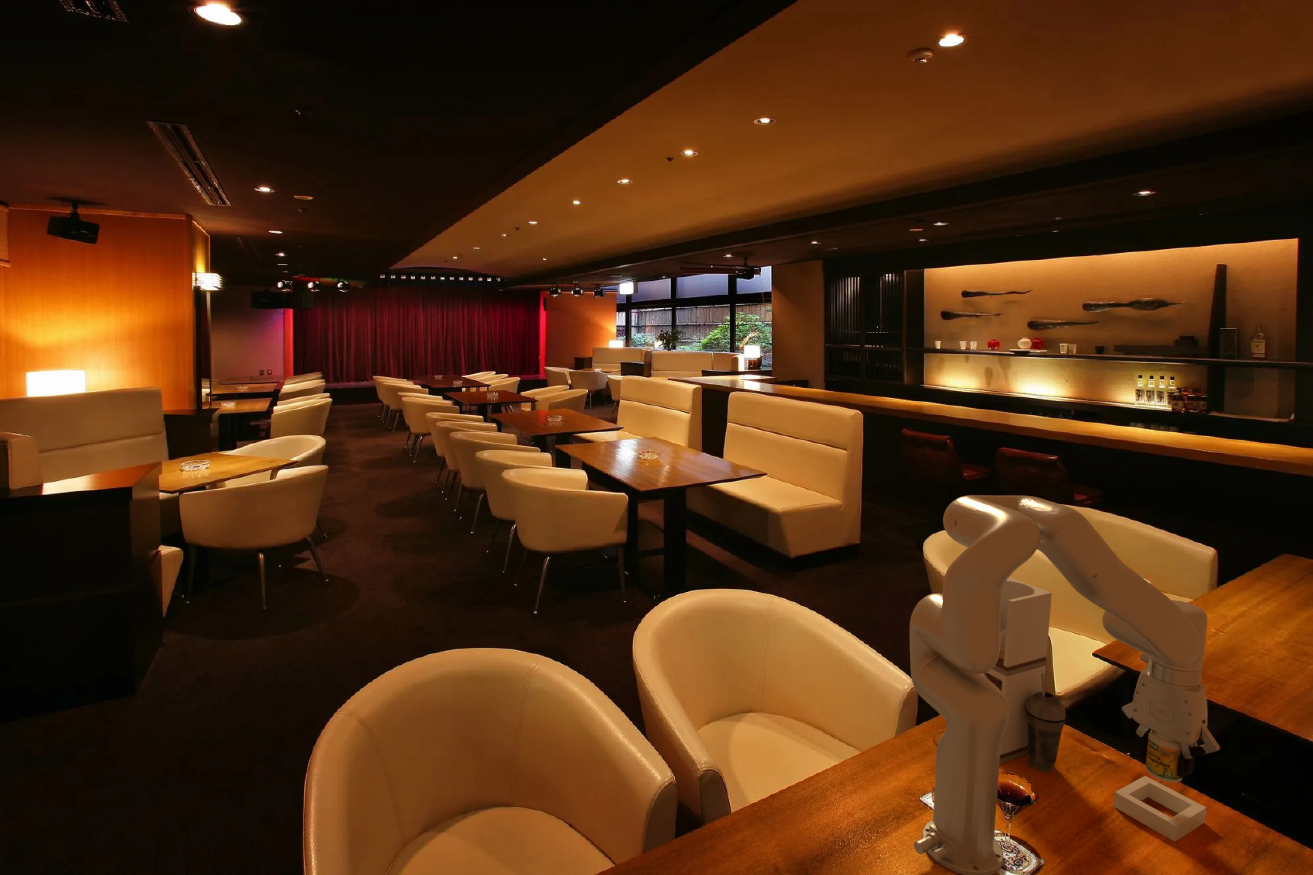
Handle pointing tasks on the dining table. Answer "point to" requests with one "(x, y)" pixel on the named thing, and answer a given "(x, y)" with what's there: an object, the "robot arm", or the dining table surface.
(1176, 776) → the supplement bottle
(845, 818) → the dining table surface
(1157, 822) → the white rectangular hollow frame
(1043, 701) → the beverage cup
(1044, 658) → the white notched pedestal
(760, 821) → the dining table surface
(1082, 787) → the dining table surface
